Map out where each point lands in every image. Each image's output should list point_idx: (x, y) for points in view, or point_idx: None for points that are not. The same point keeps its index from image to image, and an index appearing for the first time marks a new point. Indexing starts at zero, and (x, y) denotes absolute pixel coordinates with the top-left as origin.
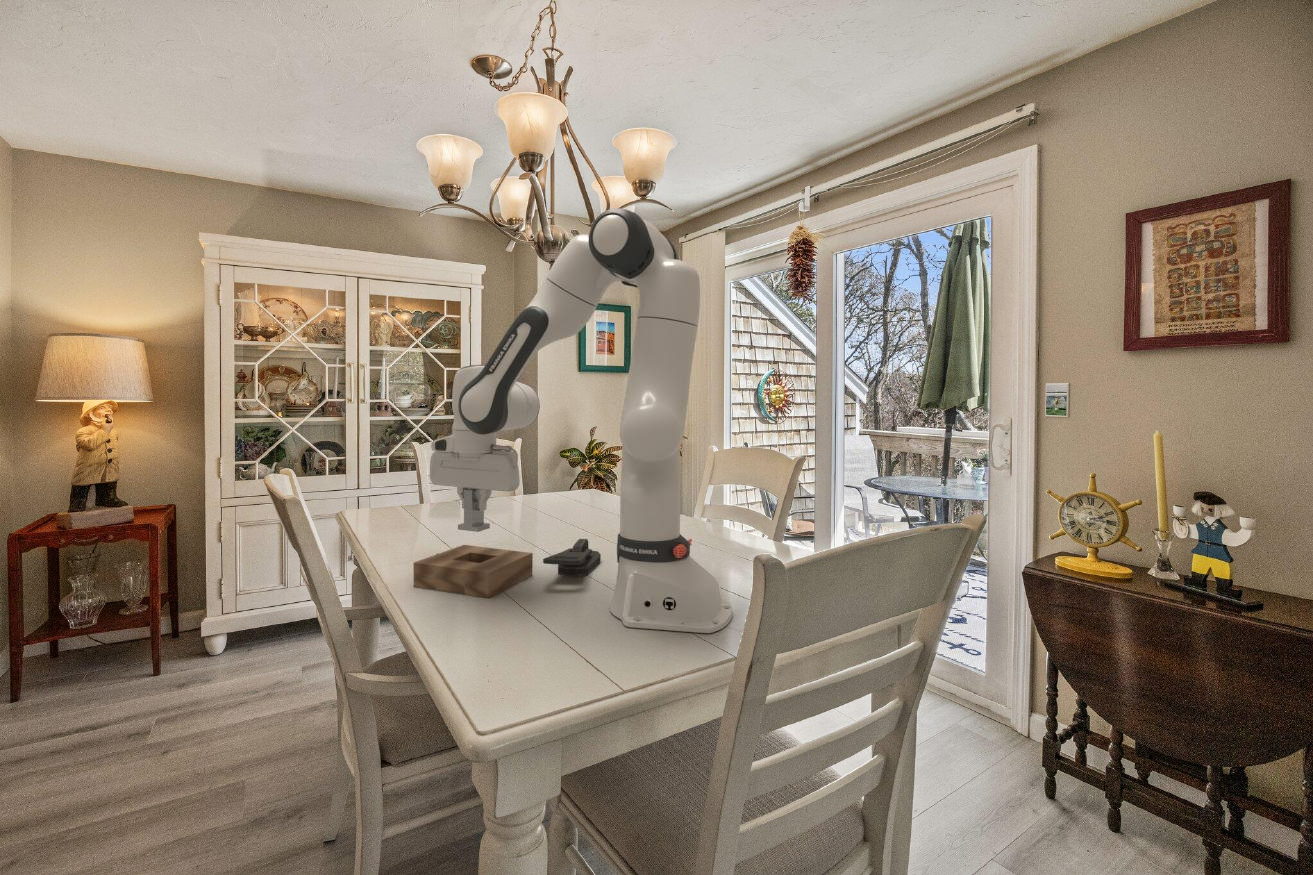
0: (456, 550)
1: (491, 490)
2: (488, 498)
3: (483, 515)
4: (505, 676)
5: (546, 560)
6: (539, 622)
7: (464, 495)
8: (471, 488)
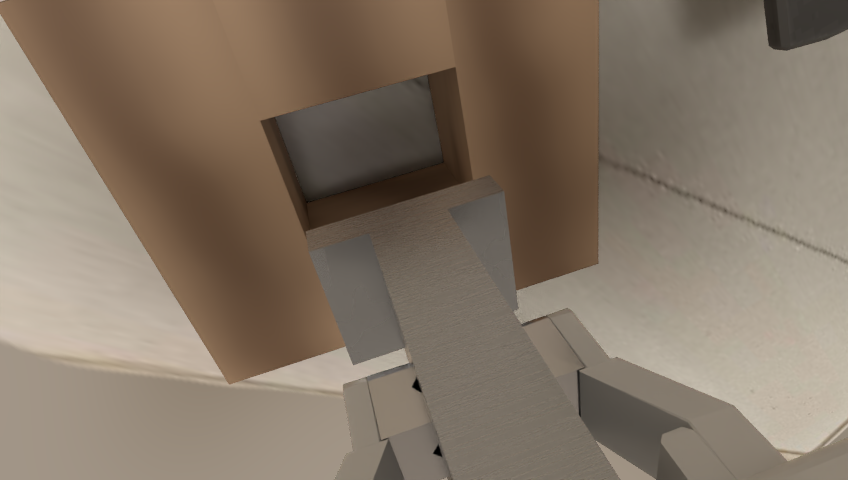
0: (144, 145)
1: (764, 438)
2: (656, 376)
3: (468, 245)
4: (791, 389)
5: (798, 45)
6: (771, 233)
7: None
8: None
